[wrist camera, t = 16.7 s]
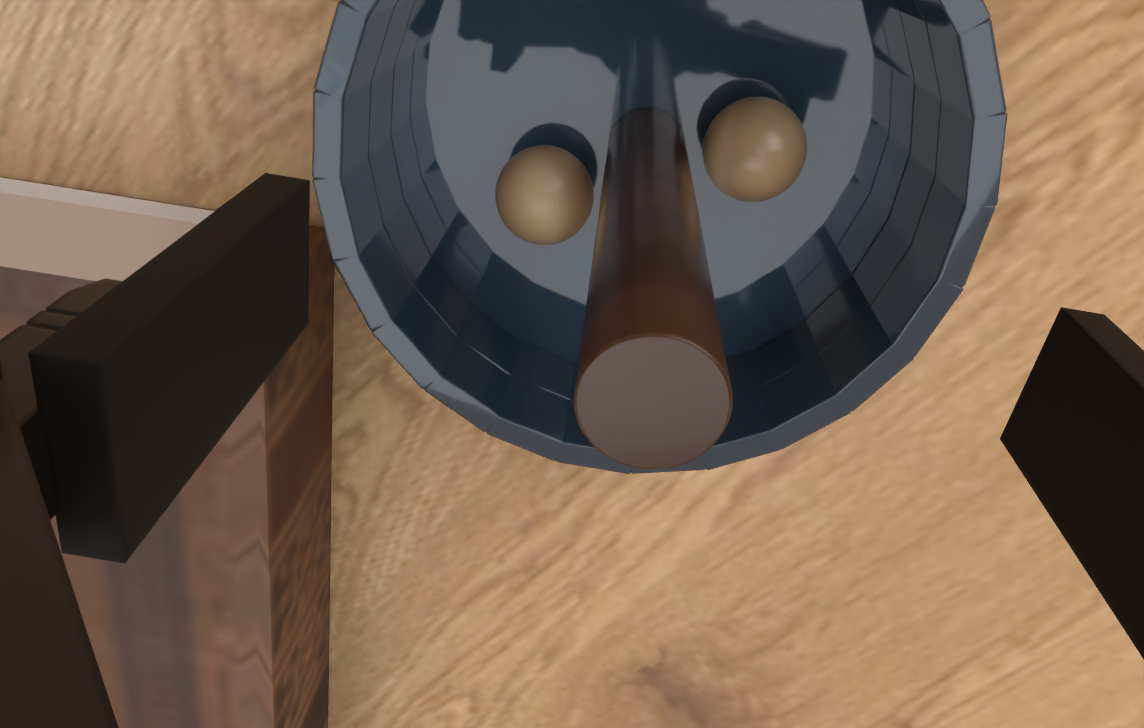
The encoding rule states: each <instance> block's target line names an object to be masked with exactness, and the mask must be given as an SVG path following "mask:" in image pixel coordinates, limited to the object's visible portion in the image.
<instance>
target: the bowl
mask: <svg viewBox="0 0 1144 728" xmlns="http://www.w3.org/2000/svg"><path fill="white" fill-rule="evenodd" d="M990 17H991V16H990V13H989V11H988V9H987V7H986V5H985V3H984V1H983V0H339V2H338V4H337V7H336V11H335V14H334V18H333V21H332V25H331V29H330V32H329V36H328V39H327V43H326V46H325V50H324V53H323V57H322V60H321V64H320V67H319V71H318V74H317V78H316V81H315V85H314V89H315V90H314V92H313V154H312V176H313V184H314V188H315V192H316V196H317V200H318V204H319V208H320V212H321V216H322V220H323V224H324V228H325V232H326V236H327V240H328V244H329V248H330V252H331V256H332V259H333V260H334V263H335V265H336V267H337V269H338V271H339V272H340V274H341V276H342V278H343V280H344V282H345V284H346V285H347V287H348V289H349V291H350V293H351V295H352V297H353V299H354V300H355V302H356V304H357V306H358V308H359V310H360V312H361V313H362V315H363V317H364V319H365V321H366V323H367V325H368V326H369V328H370V329H371V330H372V334H373V335H374V336H375V337H376V338H377V339H378V340H379V341H380V343H381V344H382V345H383V346H384V347H385V348H386V349H387V350H388V351H389V353H390V354H391V355H392V356H393V357H394V358H395V359H396V360H397V361H398V363H399V364H400V365H401V366H402V367H403V368H404V369H405V370H406V371H407V373H408V374H409V375H410V376H411V377H412V378H413V379H414V380H415V381H416V383H417V384H418V385H419V386H420V387H421V388H422V389H425V391H426V392H427V393H429V394H430V395H432V396H433V397H435V398H436V399H437V400H439V401H440V402H442V403H443V404H445V405H446V406H448V407H449V408H450V409H452V410H453V411H455V412H456V413H458V414H459V415H460V416H462V417H463V418H465V419H466V420H468V421H469V422H471V423H472V424H473V425H475V426H476V427H478V428H479V429H481V430H482V431H483V432H486V431H487V434H488V435H491V436H493V437H496V438H498V439H501V440H503V441H506V442H508V443H511V444H513V445H516V446H518V447H521V448H523V449H526V450H528V451H531V452H533V453H536V454H538V455H541V456H543V457H546V458H548V459H550V460H553V461H557V462H560V463H566V464H572V465H578V466H584V467H590V468H596V469H602V470H608V471H614V472H620V473H626V474H630V472H631V473H633V474H635V473H654V472H673V471H692V470H704V469H707V470H710V469H713V468H717V467H721V466H724V465H728V464H731V463H735V462H739V461H742V460H746V459H750V458H753V457H757V456H760V455H764V454H768V453H771V452H775V451H779V450H781V449H784V448H786V447H787V446H789V445H791V444H793V443H795V442H797V441H799V440H801V439H802V438H804V437H806V436H808V435H810V434H812V433H814V432H816V431H818V430H819V429H821V428H823V427H825V426H827V425H829V424H831V423H833V422H834V421H836V420H838V419H840V418H842V417H844V416H846V415H848V414H849V413H851V411H854V410H855V409H856V408H858V407H859V406H860V405H861V404H862V403H863V402H864V401H866V400H867V399H868V398H869V397H870V396H871V395H873V394H874V393H875V392H876V391H877V390H878V389H879V388H881V387H882V386H883V385H884V384H885V383H886V382H888V381H889V380H890V379H891V378H892V377H893V376H894V375H896V374H897V373H898V372H899V371H900V370H901V369H903V368H904V367H905V366H906V365H907V364H908V363H909V362H911V361H912V360H913V359H914V357H915V356H916V355H917V353H918V352H919V351H920V349H921V348H922V346H923V345H924V344H925V342H926V341H927V339H928V338H929V337H930V335H931V334H932V333H933V331H934V330H935V328H936V327H937V326H938V324H939V323H940V321H941V320H942V319H943V317H944V316H945V314H946V313H947V312H948V310H949V309H950V307H951V306H952V305H953V303H954V302H955V300H956V299H957V298H958V296H959V295H960V293H961V292H962V291H963V287H964V285H965V284H966V281H967V279H968V276H969V273H970V271H971V268H972V266H973V263H974V261H975V258H976V256H977V253H978V251H979V248H980V245H981V243H982V240H983V238H984V235H985V233H986V230H987V228H988V225H989V222H990V220H991V217H992V215H993V212H994V210H995V205H997V202H998V193H999V184H1000V175H1001V166H1002V157H1003V148H1004V139H1005V130H1006V122H1007V113H1005V112H1006V104H1005V98H1004V92H1003V86H1002V80H1001V74H1000V69H999V63H998V57H997V51H996V45H995V39H994V33H993V27H992V21H991V20H990V19H989V18H990ZM748 97H767V98H771V99H774V100H777V101H779V102H781V103H783V104H784V105H786V106H787V107H789V108H790V109H791V110H792V111H793V112H794V113H795V114H796V116H797V117H798V118H799V120H800V122H801V123H802V126H803V128H804V131H805V134H806V140H807V155H806V160H805V163H804V166H803V168H802V171H801V173H800V174H799V176H798V178H797V179H796V180H795V181H794V183H793V184H792V185H791V186H790V187H789V188H788V189H787V190H785V191H784V192H783V193H781V194H779V195H778V196H776V197H773V198H771V199H768V200H765V201H759V202H745V201H740V200H736V199H734V198H731V197H729V196H728V195H726V194H724V193H723V192H721V191H720V190H719V189H718V188H717V187H716V186H715V185H714V184H713V182H712V181H711V180H710V178H709V176H708V174H707V172H706V170H705V167H704V162H703V156H702V148H703V141H704V137H705V134H706V131H707V129H708V127H709V125H710V123H711V122H712V120H713V119H714V118H715V116H716V115H717V114H718V113H719V112H720V111H721V110H722V109H724V108H725V107H726V106H728V105H729V104H731V103H733V102H735V101H737V100H740V99H743V98H748ZM639 108H656V109H660V110H662V111H665V112H666V113H668V114H669V115H671V116H672V117H673V118H674V119H675V120H676V121H677V122H678V124H679V125H680V127H681V129H682V131H683V133H684V137H685V142H686V148H687V153H688V159H689V164H690V169H691V175H692V180H693V185H694V191H695V196H696V201H697V207H698V212H699V217H700V223H701V228H702V234H703V239H704V244H705V250H706V255H707V260H708V266H709V271H710V276H711V282H712V287H713V293H714V298H715V303H716V309H717V314H718V319H719V325H720V330H721V335H722V341H723V346H724V351H725V357H726V362H727V368H728V373H729V378H730V384H731V389H732V398H733V400H732V411H731V415H730V419H729V421H728V424H727V426H726V428H725V430H724V432H723V434H722V435H721V436H720V438H719V439H718V440H717V442H716V443H715V444H714V445H713V446H712V447H711V448H710V449H709V450H707V451H706V452H705V453H704V454H702V455H701V456H699V457H697V458H696V459H694V460H692V461H690V462H688V463H685V464H682V465H679V466H676V467H671V468H666V469H640V468H635V467H630V466H627V465H624V464H621V463H618V462H616V461H614V460H612V459H610V458H609V457H607V456H605V455H604V454H602V453H601V452H600V451H599V450H597V449H596V448H595V447H594V446H593V445H592V444H591V443H590V442H589V440H588V439H587V438H586V436H585V435H584V433H583V432H582V430H581V428H580V426H579V424H578V421H577V418H576V415H575V410H574V391H575V383H576V376H577V369H578V361H579V354H580V347H581V339H582V332H583V324H584V317H585V310H586V302H587V295H588V288H589V280H590V273H591V266H592V258H593V251H594V243H595V236H596V229H597V221H598V214H599V207H600V199H601V192H602V185H603V177H604V170H605V163H606V155H607V148H608V140H609V136H610V133H611V131H612V129H613V127H614V125H615V124H616V123H617V121H618V120H619V119H620V118H621V117H623V116H624V115H625V114H627V113H628V112H630V111H633V110H635V109H639ZM538 145H551V146H556V147H559V148H562V149H565V150H567V151H569V152H570V153H572V154H573V155H574V156H576V157H577V158H578V159H579V160H580V161H581V162H582V164H583V165H584V166H585V168H586V169H587V171H588V173H589V175H590V177H591V181H592V184H593V190H594V200H593V207H592V210H591V213H590V216H589V218H588V220H587V221H586V223H585V224H584V226H583V227H582V228H581V229H580V230H579V231H578V232H577V233H576V234H575V235H574V236H572V237H571V238H569V239H567V240H565V241H563V242H560V243H557V244H552V245H537V244H533V243H529V242H527V241H524V240H522V239H520V238H519V237H517V236H516V235H515V234H513V233H512V232H511V231H510V230H509V229H508V228H507V227H506V225H505V224H504V222H503V221H502V219H501V217H500V215H499V213H498V210H497V206H496V199H495V190H496V184H497V180H498V177H499V175H500V172H501V170H502V169H503V167H504V166H505V164H506V163H507V162H508V161H509V160H510V159H511V158H512V157H513V156H514V155H515V154H517V153H518V152H520V151H522V150H524V149H526V148H529V147H532V146H538Z"/></svg>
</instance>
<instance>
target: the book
mask: <svg viewBox="0 0 1144 728" xmlns="http://www.w3.org/2000/svg"><path fill="white" fill-rule="evenodd" d="M213 212H215V211H211V210H205V209H198V208H192V207H185V206H179V205H173V204H166V203H160V202H154V201H147V200H141V199H135V198H128V197H122V196H116V195H109V194H103V193H97V192H90V191H84V190H78V189H71V188H65V187H59V186H52V185H46V184H40V183H33V182H27V181H21V180H14V179H8V178H2V177H0V340H1V339H2V338H3V337H5V336H6V335H8V334H9V333H10V332H12V331H13V330H15V329H16V328H18V327H19V326H20V325H26V323H27V321H28V320H29V319H30V318H32V317H33V316H35V315H36V314H37V313H39V312H40V311H46V307H47V306H49V305H50V304H52V303H53V302H54V301H56V300H57V299H59V298H60V297H62V296H63V295H64V294H66V293H67V292H69V291H70V290H73V289H76V288H79V287H82V286H85V285H87V284H90V283H93V282H96V281H99V280H102V279H105V278H106V279H112V280H118V281H124V280H125V279H126V278H128V277H129V276H130V275H132V274H133V273H134V272H135V271H137V270H138V269H139V268H141V267H142V266H143V265H145V264H146V263H147V262H149V261H150V260H151V259H153V258H154V257H155V256H157V255H158V254H159V253H161V252H162V251H163V250H164V249H166V248H167V247H168V246H170V245H171V244H172V243H174V242H175V241H176V240H178V239H179V238H180V237H182V236H183V235H184V234H186V233H187V232H188V231H190V230H191V229H192V228H193V227H195V226H196V225H197V224H199V223H200V222H201V221H203V220H204V219H205V218H207V217H208V216H209V215H211V214H212V213H213ZM333 291H334V260H333V259H332V256H331V252H330V248H329V244H328V240H327V236H326V232H325V228H319V227H312V226H309V323H308V325H307V326H306V327H305V329H304V330H303V331H302V333H301V334H300V335H299V337H298V338H297V339H296V340H295V342H294V343H293V344H292V346H291V347H290V348H289V350H288V351H287V352H286V354H285V355H284V356H283V357H282V359H281V360H280V361H279V363H278V364H277V365H276V367H275V368H274V369H273V371H272V372H271V373H270V375H269V376H268V377H267V378H266V380H265V381H264V382H263V384H262V385H261V386H260V388H259V389H258V390H257V392H256V393H255V394H254V395H253V397H252V398H251V399H250V401H249V402H248V403H247V405H246V406H245V407H244V409H243V410H242V411H241V413H240V414H239V415H238V416H237V418H236V419H235V420H234V422H233V423H232V424H231V426H230V427H229V428H228V430H227V431H226V432H225V433H224V435H223V436H222V437H221V439H220V440H219V441H218V443H217V444H216V445H215V447H214V448H213V449H212V450H211V452H210V453H209V454H208V456H207V457H206V458H205V460H204V461H203V462H202V464H201V465H200V466H199V468H198V469H197V470H196V471H195V473H194V474H193V475H192V477H191V478H190V479H189V481H188V482H187V483H186V485H185V486H184V487H183V488H182V490H181V491H180V492H179V494H178V495H177V496H176V498H175V499H174V500H173V502H172V503H171V504H170V506H169V507H168V508H167V509H166V511H165V512H164V513H163V515H162V516H161V517H160V519H159V520H158V521H157V523H156V524H155V525H154V526H153V528H152V529H151V530H150V532H149V533H148V534H147V536H146V537H145V538H144V540H143V541H142V542H141V544H140V545H139V546H138V547H137V549H136V550H135V551H134V553H133V554H132V555H131V557H130V558H129V559H128V561H127V562H126V563H119V562H113V561H107V560H101V559H95V558H89V557H83V556H76V555H70V554H64V553H62V551H61V545H60V539H59V533H58V527H57V521H56V515H55V516H54V517H53V518H52V519H51V520H50V521H51V524H52V527H53V530H54V533H55V536H56V539H57V542H58V545H59V548H60V551H61V554H62V557H63V560H64V563H65V566H66V569H67V572H68V575H69V578H70V581H71V584H72V587H73V590H74V593H75V596H76V599H77V603H78V606H79V609H80V612H81V615H82V618H83V621H84V624H85V627H86V630H87V633H88V636H89V639H90V642H91V645H92V648H93V651H94V654H95V657H96V660H97V663H98V666H99V669H100V672H101V675H102V678H103V681H104V684H105V688H106V691H107V694H108V697H109V700H110V703H111V706H112V709H113V712H114V715H115V718H116V721H117V724H118V727H119V728H328V678H329V600H330V523H331V445H332V368H333Z"/></svg>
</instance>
